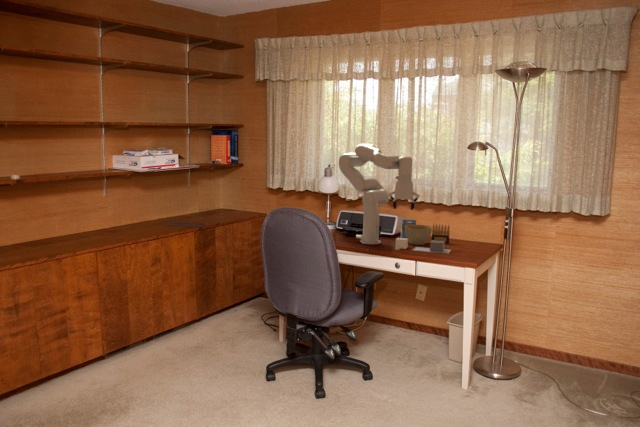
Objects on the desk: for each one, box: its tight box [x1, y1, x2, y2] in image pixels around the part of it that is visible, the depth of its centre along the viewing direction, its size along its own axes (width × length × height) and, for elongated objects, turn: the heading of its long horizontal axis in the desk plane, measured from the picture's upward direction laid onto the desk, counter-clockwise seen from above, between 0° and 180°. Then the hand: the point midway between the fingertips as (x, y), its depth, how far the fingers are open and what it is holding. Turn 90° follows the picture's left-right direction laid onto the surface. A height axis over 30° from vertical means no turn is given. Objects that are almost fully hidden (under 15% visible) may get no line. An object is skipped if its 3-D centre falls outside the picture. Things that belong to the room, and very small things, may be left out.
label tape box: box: [400, 219, 417, 238], centre depth 356 cm, size 9×4×12 cm, turn 93°
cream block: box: [394, 237, 409, 251], centre depth 322 cm, size 6×6×6 cm
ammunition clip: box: [430, 223, 451, 245], centre depth 342 cm, size 11×2×12 cm, turn 75°
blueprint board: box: [411, 246, 452, 255], centre depth 316 cm, size 20×12×1 cm, turn 71°
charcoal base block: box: [429, 240, 446, 253], centre depth 315 cm, size 7×7×5 cm
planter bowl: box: [405, 224, 433, 245], centre depth 336 cm, size 16×16×11 cm
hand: (403, 209), depth 319 cm, fingers open, 9 cm apart
